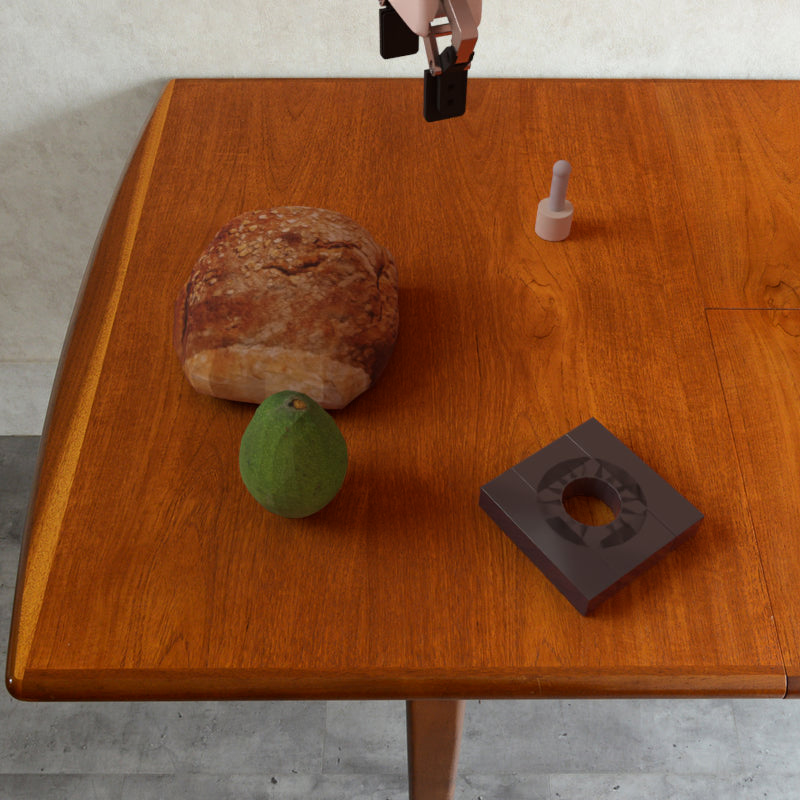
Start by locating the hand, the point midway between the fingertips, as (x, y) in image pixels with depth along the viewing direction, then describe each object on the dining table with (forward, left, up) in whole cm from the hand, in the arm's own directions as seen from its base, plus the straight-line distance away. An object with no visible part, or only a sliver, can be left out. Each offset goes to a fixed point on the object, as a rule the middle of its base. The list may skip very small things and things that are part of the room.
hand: (420, 85), depth 70 cm
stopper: (-17, 0, -22) cm, 28 cm away
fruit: (+22, +13, -22) cm, 34 cm away
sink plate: (+5, +28, -22) cm, 36 cm away
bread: (+14, -2, -22) cm, 26 cm away
